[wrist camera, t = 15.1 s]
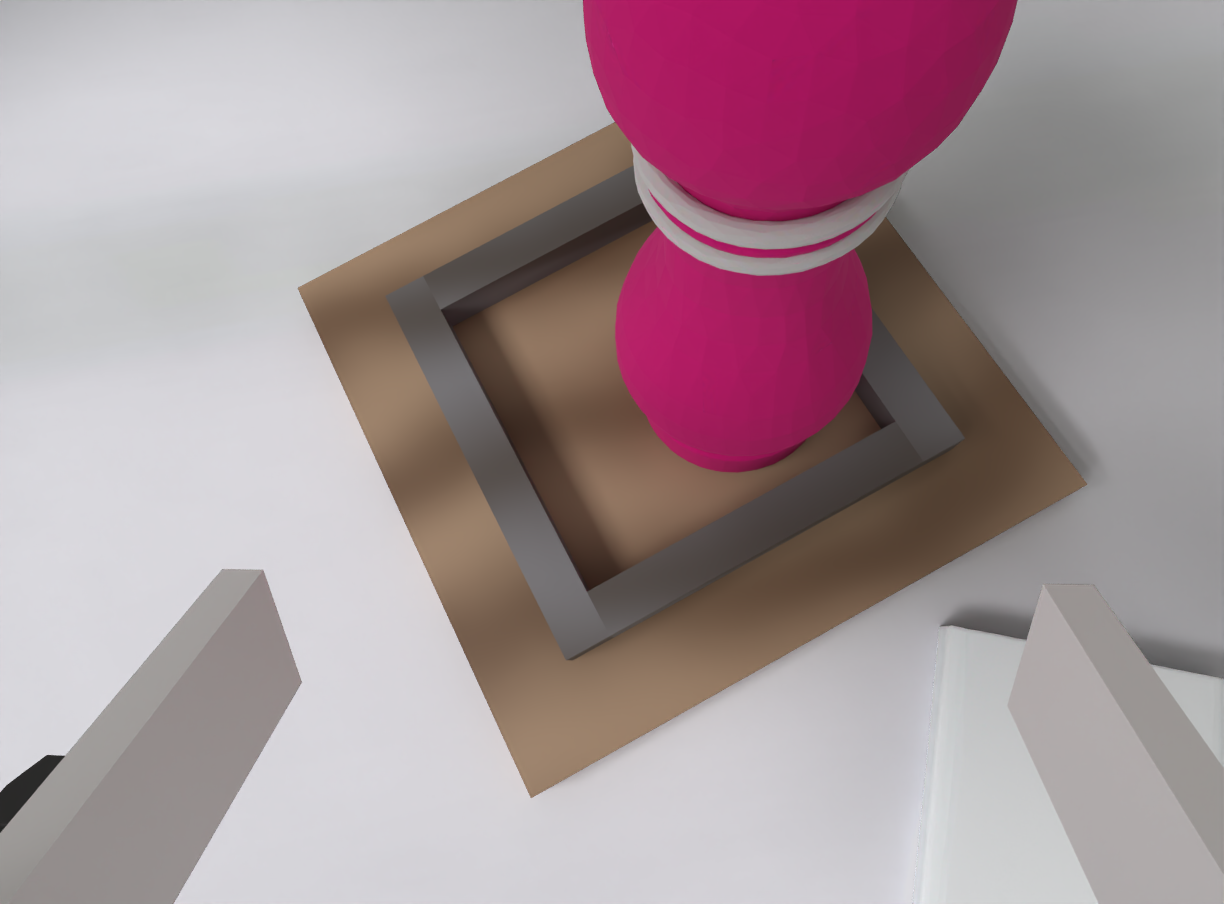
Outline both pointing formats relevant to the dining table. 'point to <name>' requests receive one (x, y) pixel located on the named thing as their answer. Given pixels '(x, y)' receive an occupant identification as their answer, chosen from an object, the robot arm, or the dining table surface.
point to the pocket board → (647, 462)
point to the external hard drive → (1007, 781)
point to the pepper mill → (769, 195)
